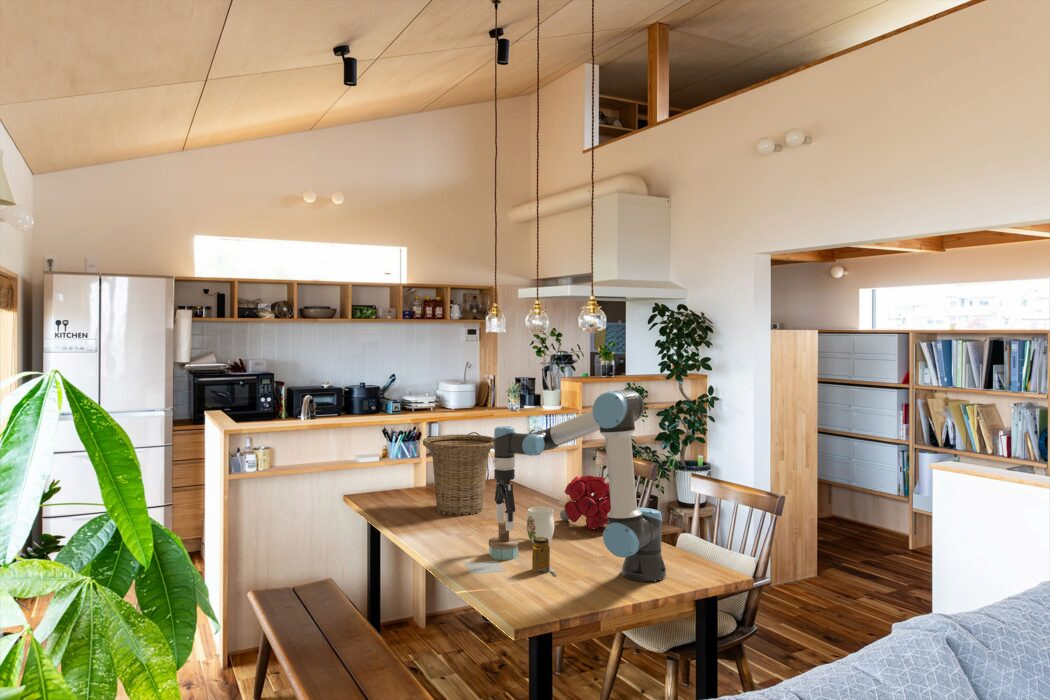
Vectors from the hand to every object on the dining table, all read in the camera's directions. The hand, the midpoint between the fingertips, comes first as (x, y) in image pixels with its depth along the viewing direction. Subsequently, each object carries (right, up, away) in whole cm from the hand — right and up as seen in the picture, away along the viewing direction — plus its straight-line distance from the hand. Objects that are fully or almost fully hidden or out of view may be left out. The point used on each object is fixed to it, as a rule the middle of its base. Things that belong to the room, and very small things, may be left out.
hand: (504, 525), depth 270 cm
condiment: (+14, -13, -16) cm, 25 cm away
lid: (0, -7, 0) cm, 7 cm away
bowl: (-1, -12, +1) cm, 12 cm away
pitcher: (+13, -12, +21) cm, 28 cm away
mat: (-7, -12, -13) cm, 19 cm away
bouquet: (+34, -12, +45) cm, 58 cm away
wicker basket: (-23, -10, +72) cm, 76 cm away
